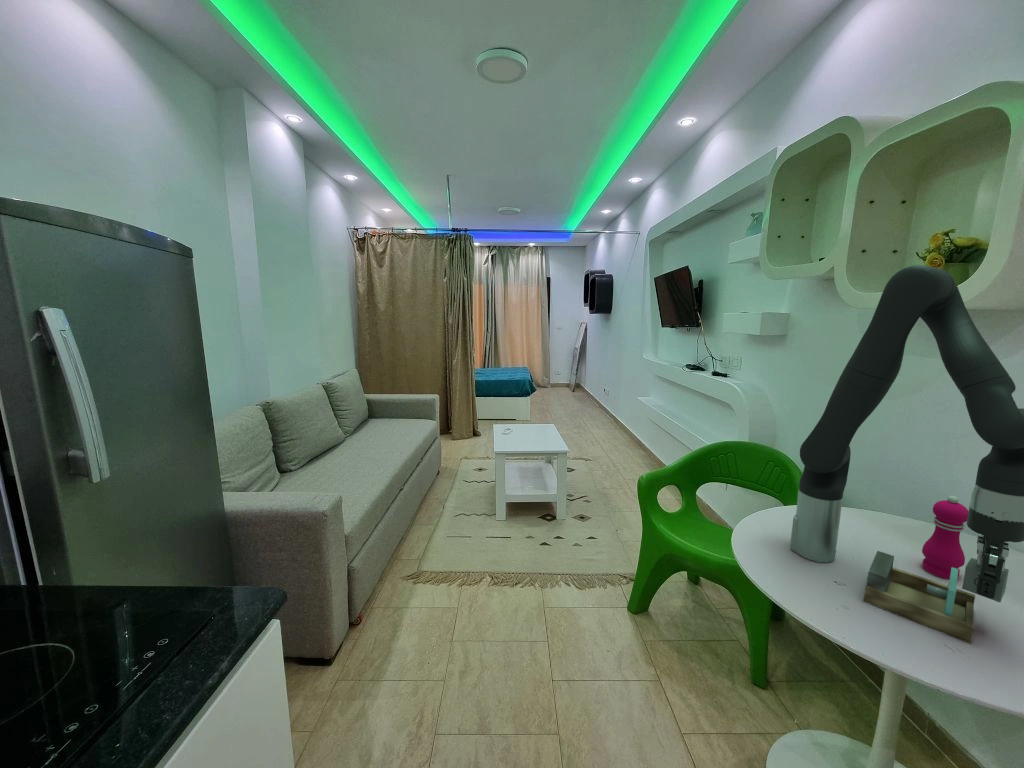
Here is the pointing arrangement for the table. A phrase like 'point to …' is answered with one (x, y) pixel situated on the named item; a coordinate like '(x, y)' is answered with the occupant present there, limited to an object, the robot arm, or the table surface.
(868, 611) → the table surface
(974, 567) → the dice cube
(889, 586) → the pusher lane
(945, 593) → the bar
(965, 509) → the pepper mill
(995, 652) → the table surface
